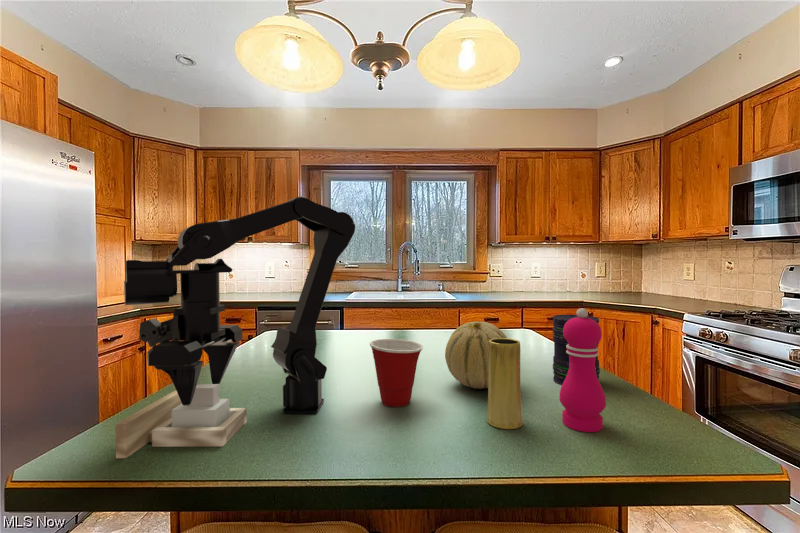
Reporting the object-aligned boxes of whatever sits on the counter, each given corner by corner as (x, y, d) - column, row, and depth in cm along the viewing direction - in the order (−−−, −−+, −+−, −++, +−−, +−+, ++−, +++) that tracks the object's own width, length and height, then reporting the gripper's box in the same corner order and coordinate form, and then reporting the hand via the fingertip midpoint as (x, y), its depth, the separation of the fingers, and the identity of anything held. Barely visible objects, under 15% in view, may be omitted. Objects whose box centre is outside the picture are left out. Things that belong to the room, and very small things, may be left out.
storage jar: (606, 390, 83) (606, 321, 83) (558, 388, 85) (558, 320, 84) (591, 376, 93) (591, 314, 93) (548, 374, 94) (548, 314, 94)
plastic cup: (427, 411, 72) (426, 348, 72) (369, 413, 72) (368, 349, 72) (421, 391, 83) (420, 336, 83) (371, 393, 83) (370, 337, 82)
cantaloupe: (497, 375, 94) (497, 314, 94) (524, 396, 80) (523, 324, 79) (438, 378, 93) (438, 316, 92) (454, 400, 78) (454, 326, 78)
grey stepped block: (229, 427, 66) (229, 381, 66) (215, 440, 61) (214, 391, 61) (189, 427, 66) (188, 381, 66) (172, 441, 61) (171, 391, 61)
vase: (526, 419, 68) (526, 339, 68) (518, 433, 63) (517, 346, 63) (492, 412, 71) (492, 336, 71) (482, 425, 66) (481, 342, 66)
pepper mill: (612, 435, 62) (612, 311, 61) (564, 432, 63) (564, 310, 63) (598, 417, 69) (598, 306, 68) (555, 414, 70) (555, 305, 70)
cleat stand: (254, 414, 72) (254, 387, 72) (211, 458, 56) (210, 423, 56) (180, 414, 72) (179, 387, 72) (116, 458, 56) (115, 424, 56)
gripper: (184, 295, 73) (186, 377, 73) (108, 308, 54) (111, 417, 55) (242, 295, 73) (244, 377, 73) (187, 307, 54) (189, 417, 54)
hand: (202, 394), depth 64 cm, fingers open, 9 cm apart
